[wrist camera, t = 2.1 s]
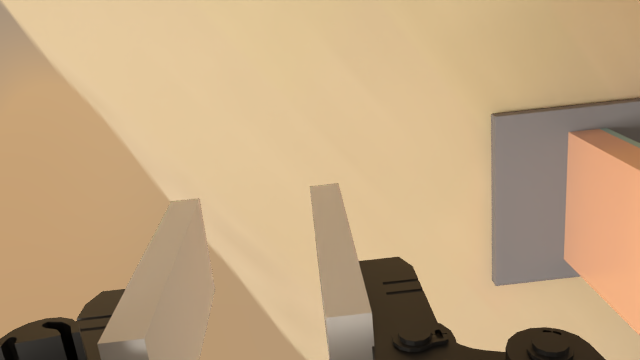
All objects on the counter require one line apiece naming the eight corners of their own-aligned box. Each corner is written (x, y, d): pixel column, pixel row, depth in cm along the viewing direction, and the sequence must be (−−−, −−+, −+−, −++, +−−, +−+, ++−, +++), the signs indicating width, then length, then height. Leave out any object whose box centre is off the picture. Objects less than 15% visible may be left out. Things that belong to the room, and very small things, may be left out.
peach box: (563, 259, 41) (669, 364, 30) (568, 132, 39) (686, 195, 27) (599, 255, 42) (718, 359, 30) (606, 127, 39) (740, 189, 27)
